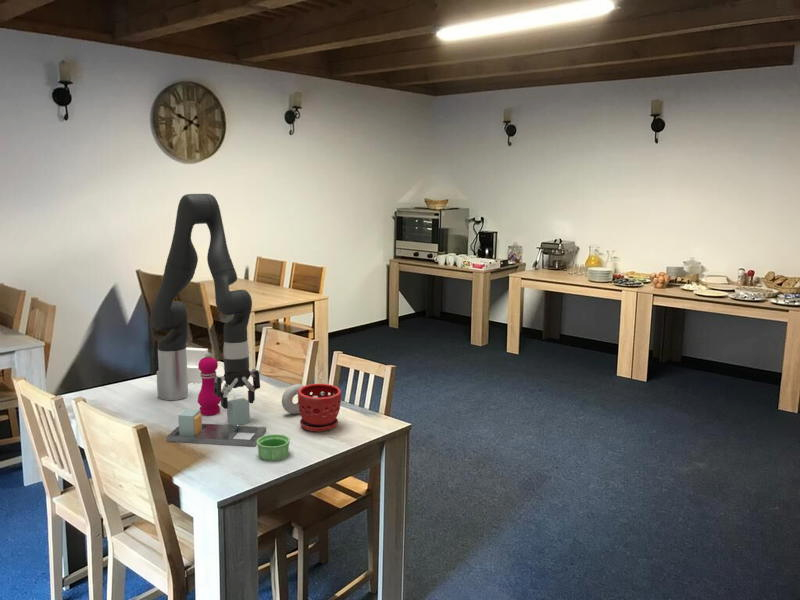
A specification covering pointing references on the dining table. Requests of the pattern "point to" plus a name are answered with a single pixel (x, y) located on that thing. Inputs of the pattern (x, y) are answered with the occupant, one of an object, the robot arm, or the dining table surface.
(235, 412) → the grey-green block
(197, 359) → the base with upright slab
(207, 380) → the pepper mill
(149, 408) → the dining table surface
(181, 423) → the sage green block
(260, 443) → the ramekin
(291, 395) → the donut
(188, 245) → the robot arm
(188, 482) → the dining table surface
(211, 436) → the grey rectangular tray
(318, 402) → the plant pot
